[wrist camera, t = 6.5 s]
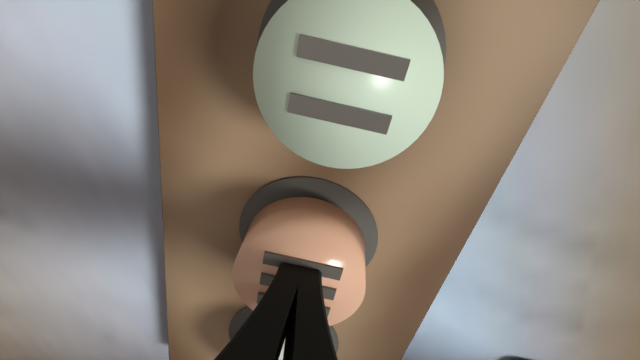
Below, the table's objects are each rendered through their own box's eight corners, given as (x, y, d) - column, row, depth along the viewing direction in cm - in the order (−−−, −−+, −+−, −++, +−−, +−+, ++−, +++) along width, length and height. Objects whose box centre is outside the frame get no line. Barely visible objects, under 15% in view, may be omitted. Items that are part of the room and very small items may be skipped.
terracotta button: (379, 212, 13) (382, 253, 11) (349, 297, 15) (347, 341, 13) (253, 184, 13) (236, 220, 11) (243, 274, 15) (227, 315, 13)
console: (609, -66, 10) (641, -70, 8) (373, 386, 22) (374, 409, 21) (167, -172, 9) (141, -190, 8) (178, 344, 21) (168, 365, 20)
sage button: (456, -3, 9) (478, 6, 7) (400, 152, 12) (407, 186, 10) (282, -43, 9) (262, -45, 7) (262, 121, 12) (244, 150, 10)
